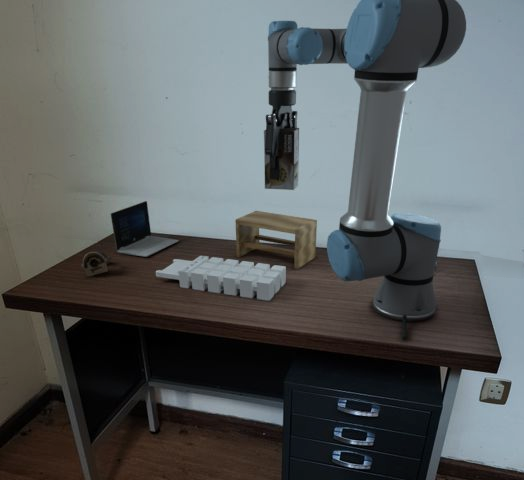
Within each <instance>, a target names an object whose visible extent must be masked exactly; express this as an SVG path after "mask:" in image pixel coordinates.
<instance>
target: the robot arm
mask: <svg viewBox="0 0 524 480" xmlns="http://www.w3.org/2000/svg"><path fill="white" fill-rule="evenodd" d="M466 31H467V19H466V13H465V11H464V8H463V7H462V5H461V4H460V3H459V2H458V0H360V1H359V2H358V3H357V5H356V7H355V8H354V9H353V11H352V13H351V15H350V17H349V21H348V23H347V26H346V28H312V27H303V26H302V27H298V24H297V21H296V20H273V21H271V22H270V23H269V25H268V35H267V43H268V45H267V48H268V49H267V51H268V54H267V55H268V76H267V78H268V88H269V89H270V90H268V105H269V106H272V109H271V113H270V114H265V124H266V125H265V130H266V138H265V154H266V155H269V157H270V179H274V180H279V155H277V154H278V149H279V143H280V132H281V131H282V130H284V128H298V111H297V110H293V108H292V106H295V105H296V104H297V90H296V89H295V88H297V71H298V70H297V66H298V65H299V66H303V65H304V66H306V65H326V64H331V65H332V64H335V65H336V64H339V65H340V64H341V65H342V64H345V65H346V64H347V65H348V66H349V67H350V68H351V69H353V70H354V76H353V80H354V81H355V83H356V84H357V85H358V86H359V88H360V95H359V104H358V113H357V123H356V132H355V142H354V150H353V160H352V170H351V177H350V188H349V197H348V207H347V211H346V212H345V213H344V214H343V215H342V216H341V217H340V218H339V225H338V229H335V230H334V231H331V232H330V234H329V235H328V236H327V240H326V252H327V257H328V261H329V264H330V267H331V269H332V271H333V272H334V274H335V275H336V276H337V277H338V278H339V279H340V280H342V281H344V282H356V281H358V282H362V281H363V280H368V279H374V278H379V277H382V280H381V282H380V283H379V286H378V288H377V290H376V292H375V295H374V297H373V301H372V308H373V310H374V311H375V312H376V313H377V314H379V315H381V316H382V317H385V318H387V319H390V320H395V321H399V322H402V331H401V332H402V341H406V340H408V339H407V337H408V336H407V333H408V332H407V322H421V321H425V320H429V319H431V318H432V317H433V316H434V315H435V314H436V309H437V301H436V294H435V289H434V284H433V281H434V276H435V269H436V266H437V264H436V262H437V259H438V254H439V249H440V244H441V241H442V239H441V235H442V226H441V224H440V223H439V221H437V220H436V219H433V218H431V217H428V216H424V215H420V214H415V213H405V212H399V213H398V212H397V213H393V214H392V215H391V216H390V215H389V209H390V203H391V197H392V189H393V183H394V177H395V170H396V165H397V157H398V151H399V144H400V138H401V131H402V125H403V117H404V111H405V105H406V97H407V93H408V90H409V89H410V88H411V87H412V86H413V85H414V84H415V83H416V82H417V79H418V75H419V69H425V68H433V67H437V66H439V65H442V64H444V63H446V62H447V61H449V60H450V59H451V58H452V57H454V55H455V54H457V52H458V51H459V50H460V48H461V46H462V44H463V42H464V39H465V38H466V37H465V36H466ZM435 265H436V266H435Z"/></svg>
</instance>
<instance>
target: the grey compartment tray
mask: <svg viewBox="0 0 524 480" xmlns="http://www.w3.org/2000/svg"><path fill="white" fill-rule="evenodd" d="M209 257H210V256H209V255H208V256H207V255H199V256H198V257H196V258H195V259H194V260H186V259H179V258H174V259H172V263H171V264H170V265H168V266H166V267H165V268H163V269H157V270H156V271H155V276H156V277H157V278H163V279H171V280H177V281H178V282H179V287H180V288H183V289H190V288H192V289H191V290H196V291H203V292H205V290H207V292H210V293H216V294H221V293H222V292H223V295H229V296H238V294H239V296H240V297H242V298H247V299H248V298H249V299H254V297H255V296H256V300H261V301H266V302H267V301H271V300H272V299H273V298H274V296H275V295H276V294H277V293H278V292H279V291H280V290H281V288H282V287H284V285H285V284H286V282H287V274H286V273H287V266H284V265H278V264H277V265H276V264H274V265H273V266H272V267H271V265H270V264H269V263H261V262H258V263H256V264H255V262H253V261H246V260H242V261H241V262H240V261H239V260H238V259H231V258H227V259H225V260H224V258H222V257H215V256H212V257H210V258H209Z"/></svg>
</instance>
